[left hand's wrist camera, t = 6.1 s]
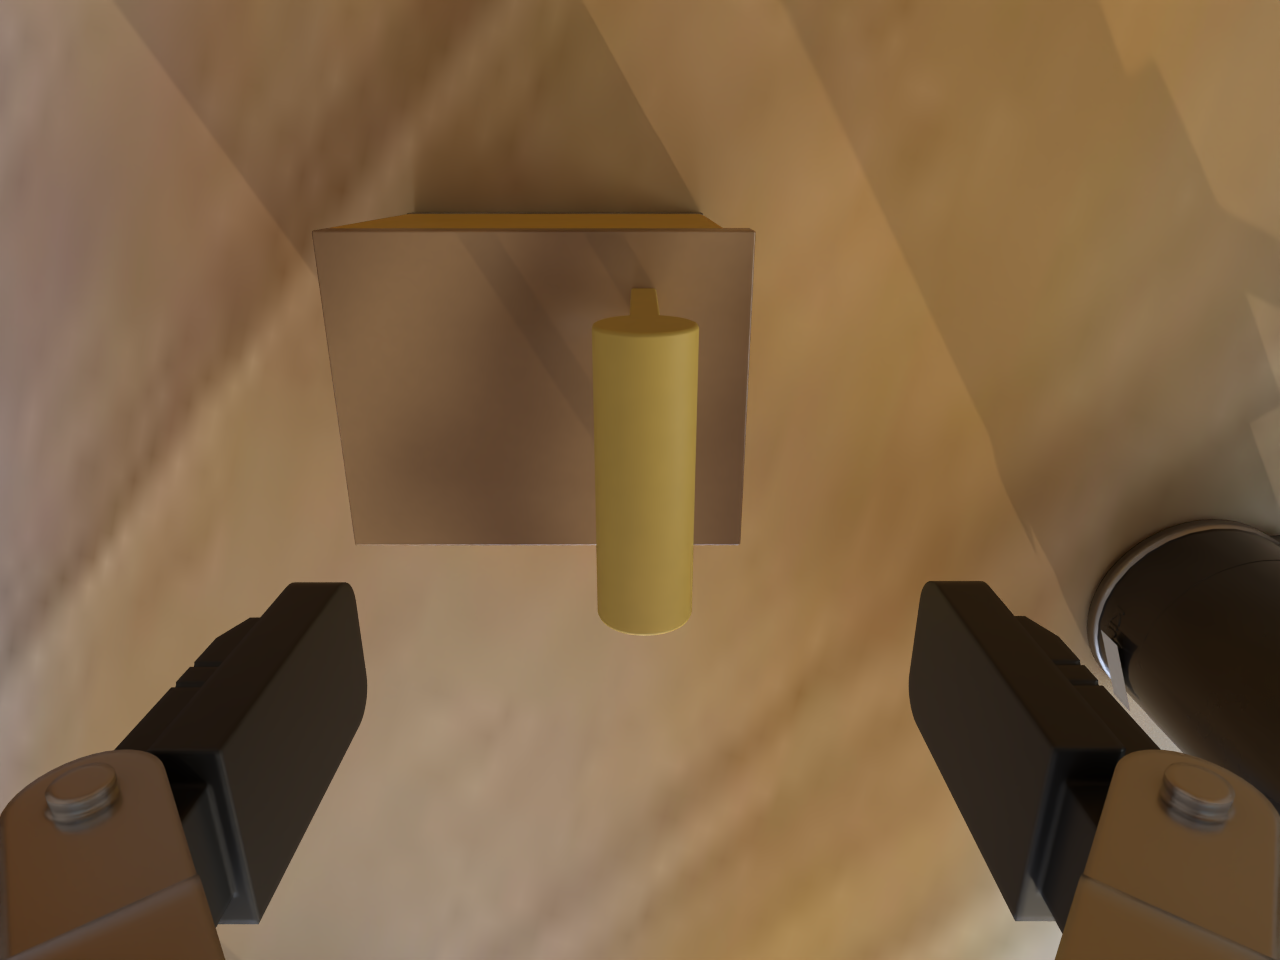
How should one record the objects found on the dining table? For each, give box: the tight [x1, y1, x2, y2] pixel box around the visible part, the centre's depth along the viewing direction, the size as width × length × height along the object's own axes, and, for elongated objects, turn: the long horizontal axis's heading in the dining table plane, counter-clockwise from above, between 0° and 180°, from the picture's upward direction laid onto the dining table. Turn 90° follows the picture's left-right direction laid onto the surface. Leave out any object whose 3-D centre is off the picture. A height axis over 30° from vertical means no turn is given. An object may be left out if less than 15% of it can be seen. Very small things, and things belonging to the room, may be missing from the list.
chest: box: [332, 213, 722, 228], centre depth 29 cm, size 11×10×10 cm
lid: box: [312, 228, 755, 636], centre depth 21 cm, size 12×10×9 cm
